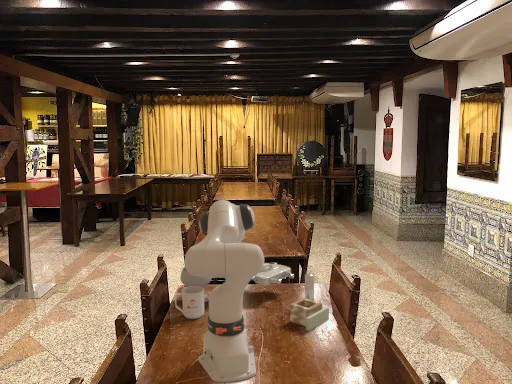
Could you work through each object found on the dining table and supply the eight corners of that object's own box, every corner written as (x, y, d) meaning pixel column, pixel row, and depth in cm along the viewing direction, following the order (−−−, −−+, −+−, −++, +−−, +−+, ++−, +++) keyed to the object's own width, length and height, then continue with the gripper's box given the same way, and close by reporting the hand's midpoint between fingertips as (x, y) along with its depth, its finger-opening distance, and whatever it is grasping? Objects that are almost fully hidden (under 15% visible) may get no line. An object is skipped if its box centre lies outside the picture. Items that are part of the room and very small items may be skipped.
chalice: (208, 292, 208) (207, 262, 206) (215, 303, 195) (214, 270, 193) (179, 296, 204) (178, 265, 202) (183, 307, 191) (182, 274, 189)
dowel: (315, 307, 190) (315, 275, 188) (306, 308, 189) (306, 276, 187) (311, 303, 194) (312, 272, 192) (303, 304, 193) (303, 273, 191)
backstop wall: (305, 330, 167) (305, 317, 167) (325, 318, 178) (325, 306, 177) (309, 331, 166) (309, 318, 166) (328, 319, 177) (329, 307, 176)
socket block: (290, 321, 175) (290, 304, 174) (303, 314, 182) (303, 297, 181) (309, 327, 169) (309, 310, 168) (321, 319, 176) (322, 303, 175)
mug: (204, 310, 187) (203, 285, 186) (204, 319, 178) (204, 292, 177) (175, 312, 185) (174, 286, 184) (174, 321, 177) (173, 294, 175)
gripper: (248, 271, 199) (272, 278, 190) (276, 261, 214) (299, 267, 205) (248, 285, 200) (272, 292, 191) (276, 274, 215) (299, 280, 206)
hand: (286, 279), depth 198 cm, fingers open, 8 cm apart
